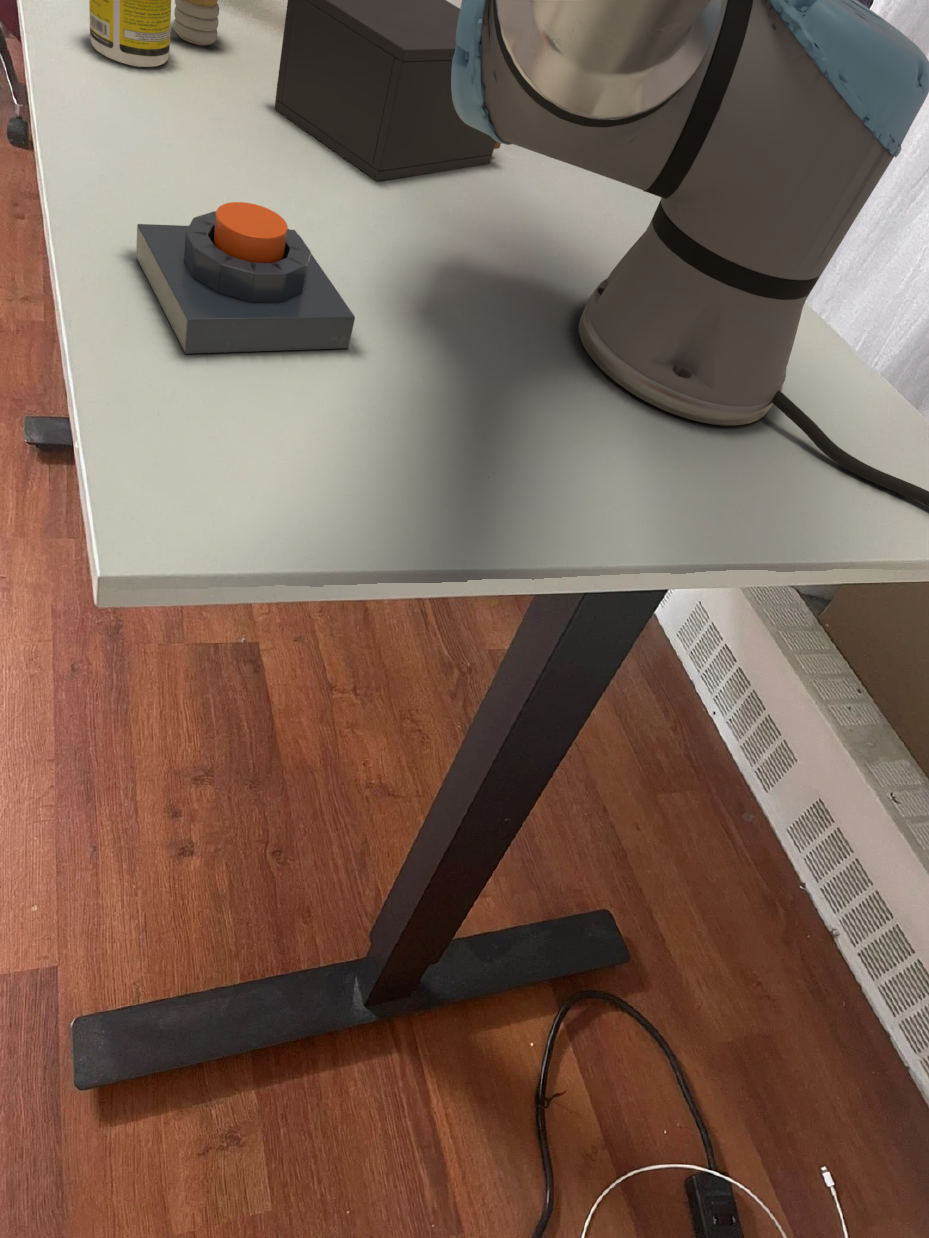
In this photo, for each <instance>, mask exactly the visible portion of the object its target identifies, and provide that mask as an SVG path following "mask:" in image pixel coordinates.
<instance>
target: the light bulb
mask: <svg viewBox="0 0 929 1238" xmlns="http://www.w3.org/2000/svg"><path fill="white" fill-rule="evenodd" d="M218 1H219V0H174V5H175V7H174V13H173V14H174V20H173V29H174V31H175V33H176V34H177V35H178V36H179V38H181V39H182V40H183V41H185V42H188V43H190V44H193V45H198V46H210V45H212V44H214V43H215V42H216V41H217V39H218V27H219V15H220V6H219V4H218Z"/></svg>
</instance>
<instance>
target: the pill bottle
mask: <svg viewBox="0 0 929 1238" xmlns="http://www.w3.org/2000/svg"><path fill="white" fill-rule="evenodd" d="M88 3H89V4H88V6H89V36H90V37H89V38H90V42H91V45H92V48H94V49H95V50H96V51H97V53H100V54H101V55H103V56H104V57H106V58H109V59H110V60H113V61H116V62H118V63H121V64H123V65H124V64H125V65H128V66H132V67H133V66H134V67H137V68H138V67H140V68H150V67H151V68H153V67H158V66H161V65H163V64H165V63H166V62H167V61H168V60H169V57H170V48H171V25H172V24H171V20H172V19H171V17H172V0H89V1H88Z"/></svg>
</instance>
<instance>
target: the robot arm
mask: <svg viewBox="0 0 929 1238" xmlns="http://www.w3.org/2000/svg"><path fill="white" fill-rule="evenodd" d="M451 92H452V100H453V104H454V108H455V110H456V112H457V114H458V116H459V117H460V118H461V120H462V121H463V122H464V123H466V124H467V125H469V126H471V127H473V128H475V129H477V130H479V131H481V132H483V133H485V134H487V135H489V136H491V137H492V138H493V139H494V140H495V141H497V142H499V143H501V144H502V145H507V146H511V145H514V146H517V147H520V148H522V149H525V150H529V151H531V152H534V153H537V154H540V155H543V156H545V157H548V158H550V159H554V160H556V161H559V162H563V163H565V164H568V165H571V166H574V167H577V168H580V169H582V170H585V171H588V172H591V173H593V174H597V175H599V176H602V177H605V178H608V179H610V180H613V181H616V182H620V183H622V184H625V185H627V186H630V187H633V188H636V189H638V190H641V191H642V192H644V193H648V194H651V195H654V196H656V197H658V198H659V197H660V200H659V202H658V205H657V207H656V209H655V211H654V214H653V216H652V217H651V220H650V222H649V224H648V226H647V228H646V230H645V231H644V232H643V233H642V235H641V236H640V237H639V238H638V239H637V240H636V241H635V242H634V244H633V245H632V246H631V247H630V248H629V250H628V251H627V252H626V253H625V254H624V256H623V257H622V258H621V259H620V260H619V261H618V263H617V264H616V265H615V267H614V268H613V269H612V271H611V272H610V273H609V275H608V276H607V278H606V279H604V280H603V281H601V282H600V283H599V284H598V286H597V287H596V288H595V289H594V291H593V293H592V294H591V295H590V296H589V298H588V300H587V302H586V305H585V307H584V309H583V312H582V314H581V316H580V319H579V322H578V334H579V338H580V341H581V344H582V346H583V347H584V349H585V351H586V352H587V354H588V356H589V357H590V358H591V360H592V361H593V362H594V363H595V364H596V366H597V367H598V368H599V369H601V371H602V372H603V373H604V374H606V376H608V377H609V378H610V379H611V380H612V381H614V382H615V383H616V384H618V386H620V387H621V388H623V389H624V390H626V391H628V392H629V393H630V394H632V395H634V396H635V397H636V398H639V399H641V400H642V401H643V402H646V403H647V404H650V405H652V406H654V407H655V408H657V409H660V410H663V411H664V412H667V413H670V414H672V415H675V416H678V417H681V418H684V419H686V420H691V421H695V422H697V423H698V422H699V423H703V424H709V425H715V426H717V425H718V426H743V425H747V424H752V423H754V422H757V421H759V420H760V419H763V418H764V417H765V416H766V414H768V413H769V411H770V409H771V408H772V406H773V405H774V406H775V407H776V408H777V409H778V410H780V411H781V412H782V414H784V415H785V416H786V417H787V418H788V419H789V420H791V422H793V423H794V424H795V425H796V426H797V427H798V428H799V429H800V430H801V431H802V432H803V433H804V434H805V435H806V437H808V438H809V439H810V441H812V443H814V445H815V446H816V447H817V448H818V449H819V450H820V451H821V452H822V453H823V454H824V455H826V456H827V457H828V458H829V459H831V461H833V462H835V463H836V464H838V465H839V466H840V467H842V468H844V469H846V470H847V471H849V472H851V473H852V474H854V475H856V476H858V477H860V478H862V479H865V480H866V481H869V482H871V483H872V484H873V483H874V484H875V485H878V486H880V487H883V488H885V489H888V490H891V491H892V492H895V493H898V494H899V495H903V496H905V497H907V498H910V499H912V500H914V501H916V502H918V503H920V504H922V505H924V506H926V507H928V508H929V490H927V489H925V488H922V487H920V486H918V485H916V484H914V483H911V482H908V481H906V480H904V479H901V478H898V477H896V476H894V475H891V474H889V473H886V472H884V471H882V470H879V469H877V468H876V467H873V466H871V465H869V464H867V463H865V462H863V461H861V460H859V459H858V458H856V457H854V456H853V455H851V454H850V453H848V452H847V451H845V450H844V449H842V448H841V447H839V446H838V445H837V444H836V443H835V442H834V441H833V440H832V439H830V437H828V436H827V435H826V433H825V432H824V431H823V430H822V428H820V427H819V426H818V425H817V423H815V422H814V421H813V420H812V418H810V416H808V415H807V414H806V413H805V412H804V411H803V410H802V409H800V408H799V406H798V405H796V404H795V403H794V402H793V401H792V400H791V399H789V397H788V396H786V395H785V394H784V393H783V392H782V390H783V386H784V383H785V381H786V378H787V367H788V364H789V361H790V358H791V354H792V351H793V348H794V344H795V340H796V336H797V332H798V328H799V324H800V320H801V316H802V313H803V309H804V306H805V303H806V301H807V299H808V298H809V295H810V294H811V293H812V291H813V289H814V288H815V286H816V284H817V283H818V281H819V279H820V278H821V276H822V274H824V271H825V270H826V268H827V266H828V265H829V263H830V262H831V259H833V257H834V255H835V253H837V250H838V248H839V246H841V244H842V242H843V240H844V238H846V235H847V234H848V233H849V231H850V229H851V228H852V225H854V222H855V220H856V219H857V218H858V216H859V214H860V213H861V211H862V209H863V207H865V204H866V203H867V201H868V200H869V198H870V196H871V195H872V193H873V191H874V190H875V189H876V187H877V185H878V183H879V182H880V180H881V179H882V177H883V176H884V175H885V172H886V171H887V169H888V168H889V166H890V165H891V163H892V162H893V160H894V158H897V157H898V156H899V155H900V153H901V152H902V144H903V142H904V140H905V139H906V136H907V134H909V133H908V132H909V130H910V129H911V127H912V126H913V123H914V121H915V120H916V117H917V116H918V114H919V112H920V110H921V108H922V106H923V105H924V103H925V102H926V99H927V97H928V95H929V59H928V57H927V56H926V54H925V53H924V52H923V51H922V49H921V48H920V47H919V46H918V45H917V44H916V43H915V42H913V40H911V39H910V38H909V37H908V36H907V35H905V33H903V32H902V31H900V30H899V28H896V27H895V26H894V25H893V24H891V22H889V21H887V20H886V19H885V18H883V17H882V16H880V15H879V14H878V13H876V12H875V11H873V10H872V9H870V8H869V7H867V6H866V5H864V4H863V3H861V2H860V1H858V0H461V4H460V12H459V17H458V23H457V30H456V48H455V54H454V56H453V60H452V70H451Z"/></svg>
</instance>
